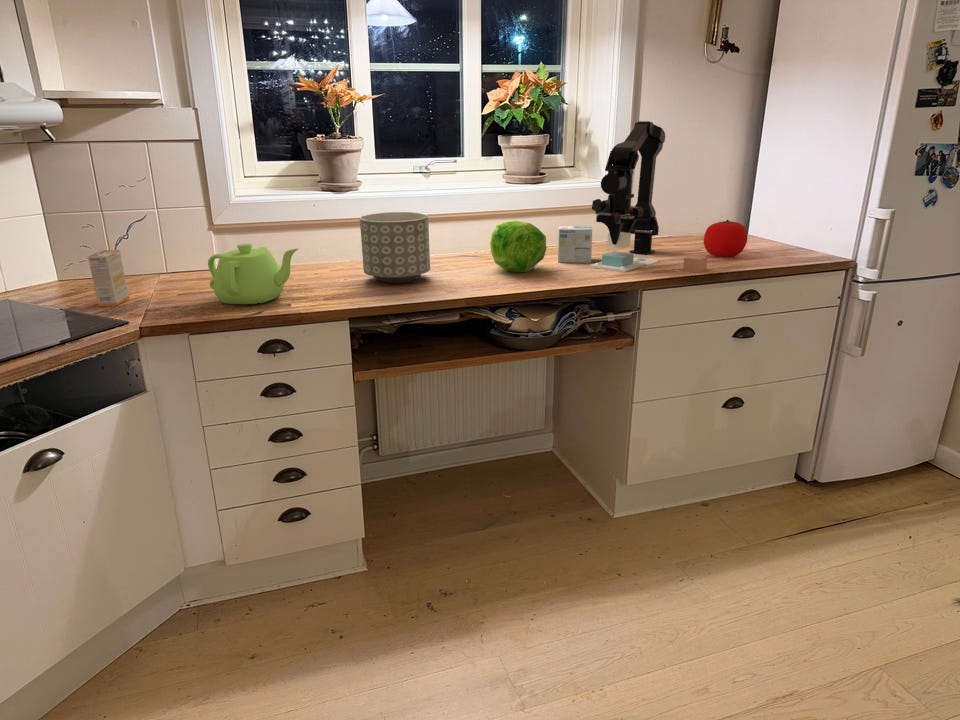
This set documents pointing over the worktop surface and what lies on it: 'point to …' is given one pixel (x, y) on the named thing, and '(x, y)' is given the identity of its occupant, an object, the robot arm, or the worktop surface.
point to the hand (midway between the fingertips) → (618, 243)
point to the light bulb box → (574, 244)
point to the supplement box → (108, 277)
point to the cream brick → (620, 241)
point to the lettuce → (517, 246)
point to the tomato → (725, 239)
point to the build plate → (623, 269)
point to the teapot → (249, 275)
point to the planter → (395, 245)
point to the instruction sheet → (644, 261)
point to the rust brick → (695, 263)
